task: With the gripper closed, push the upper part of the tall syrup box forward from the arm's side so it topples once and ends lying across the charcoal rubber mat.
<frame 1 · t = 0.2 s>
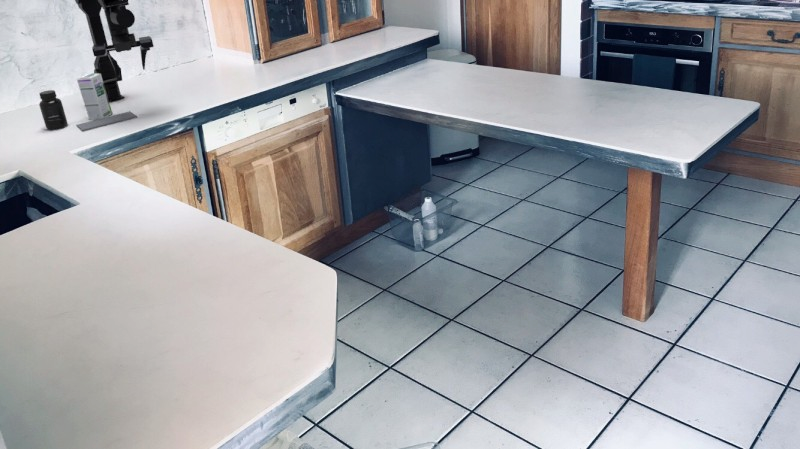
hand: (129, 72, 243), 14 cm above the worktop, fingers open, 9 cm apart
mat: (107, 121, 244), on the worktop
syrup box: (100, 117, 250), on the worktop
supplement bottle: (57, 127, 244), on the worktop
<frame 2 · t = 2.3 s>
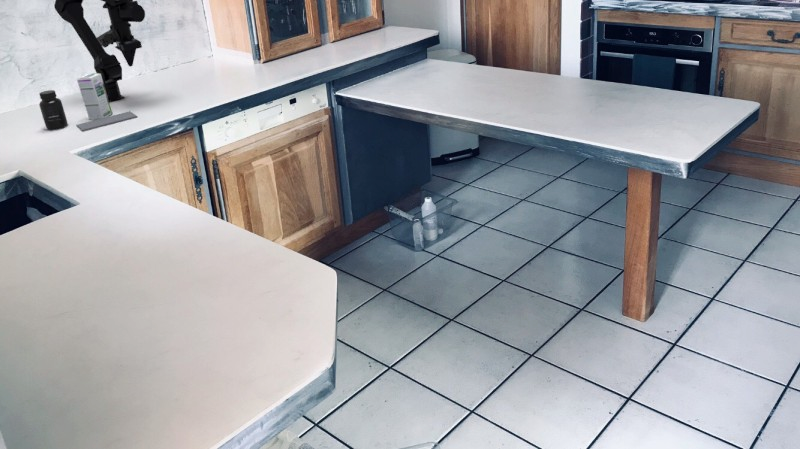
hand: (130, 66, 258), 13 cm above the worktop, fingers closed
nothing on the worktop moved.
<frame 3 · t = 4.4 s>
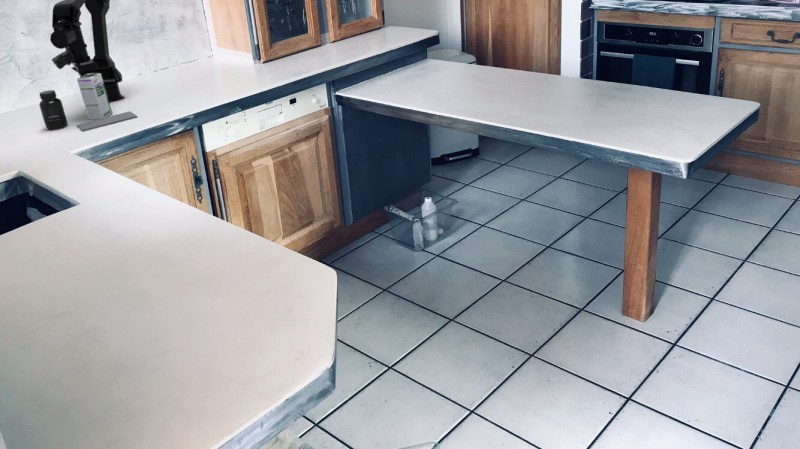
hand: (88, 87, 251), 9 cm above the worktop, fingers closed
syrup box: (100, 117, 250), on the worktop, touching gripper
everything else where it was.
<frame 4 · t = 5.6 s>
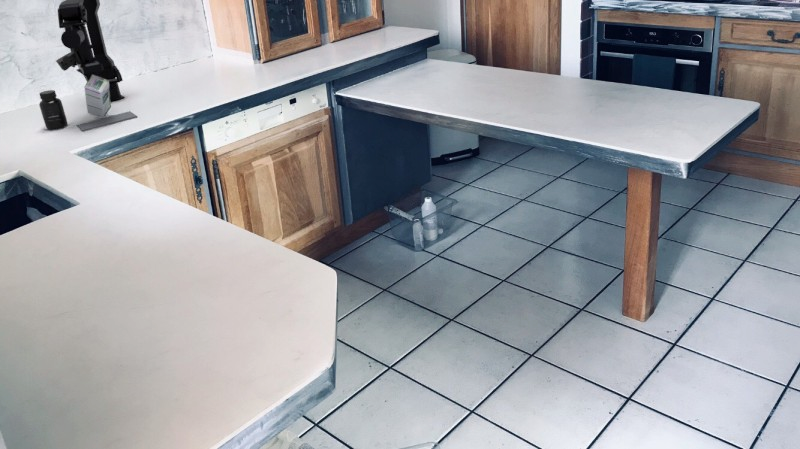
hand: (93, 89, 244), 10 cm above the worktop, fingers closed
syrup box: (99, 110, 249), point 2 cm above the worktop, touching gripper, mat
everything else where it was.
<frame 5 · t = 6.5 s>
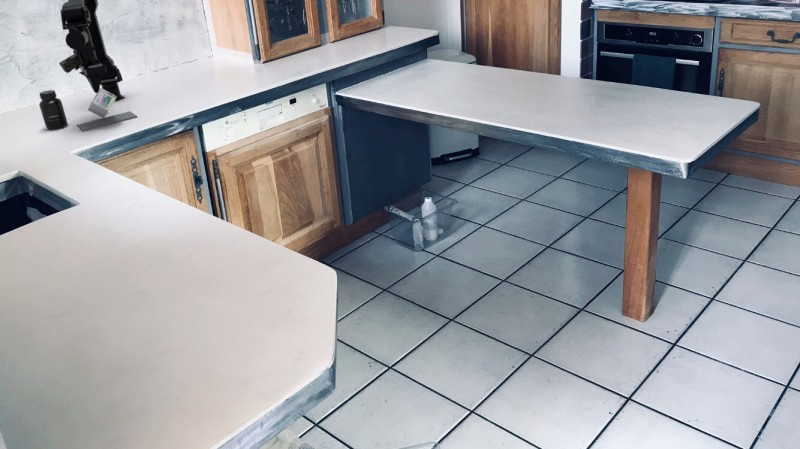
hand: (96, 92, 241), 10 cm above the worktop, fingers closed
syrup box: (98, 107, 247), point 4 cm above the worktop, touching gripper, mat
everything else where it was.
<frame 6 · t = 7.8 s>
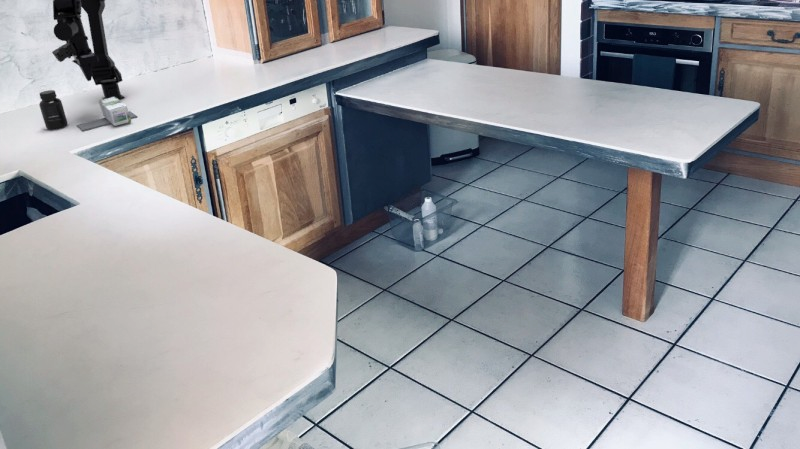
hand: (89, 80, 248), 12 cm above the worktop, fingers closed
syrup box: (108, 105, 248), point 4 cm above the worktop, touching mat
everything else where it was.
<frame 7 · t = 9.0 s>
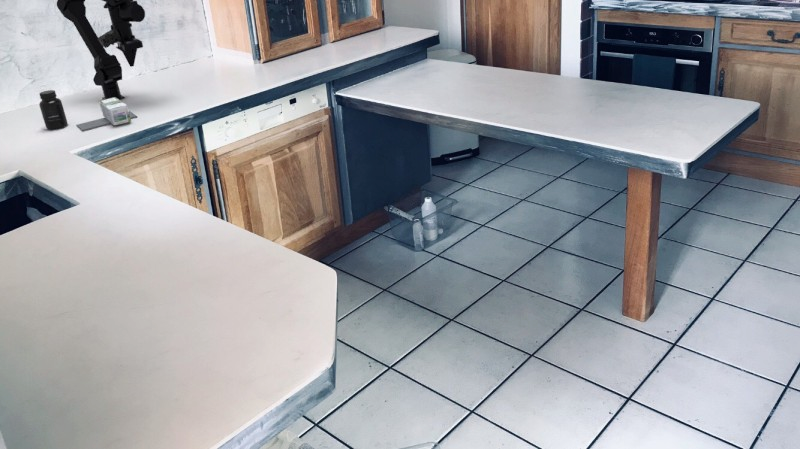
hand: (132, 66, 257), 13 cm above the worktop, fingers closed
nothing on the worktop moved.
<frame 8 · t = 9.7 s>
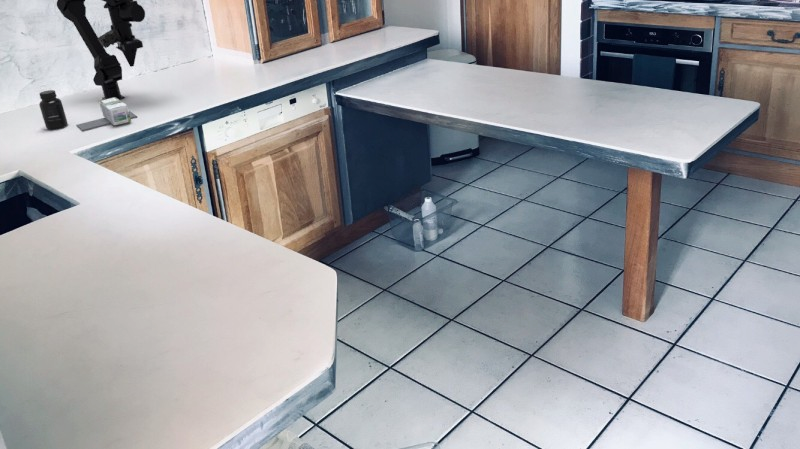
hand: (132, 66, 257), 13 cm above the worktop, fingers closed
nothing on the worktop moved.
at the end: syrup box tilted 91°; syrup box touching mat; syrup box inside the target area (3.8 cm from its centre), point 3.5 cm above the worktop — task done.
